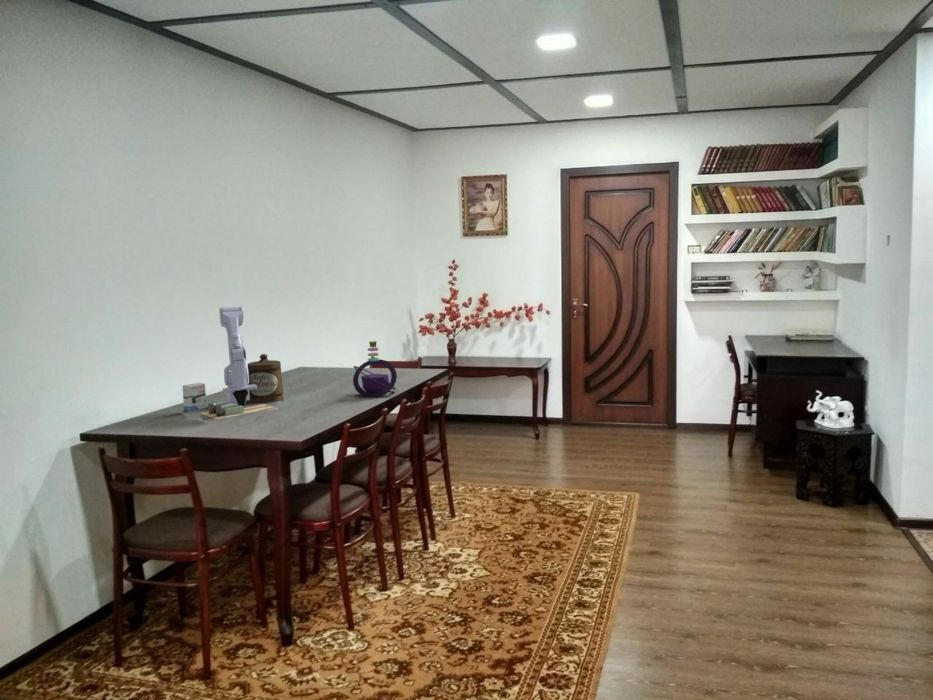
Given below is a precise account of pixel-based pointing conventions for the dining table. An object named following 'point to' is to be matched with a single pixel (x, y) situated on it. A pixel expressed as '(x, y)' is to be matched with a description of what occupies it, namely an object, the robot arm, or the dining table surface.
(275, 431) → the dining table surface
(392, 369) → the decorative bottle
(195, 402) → the ink box
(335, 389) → the dining table surface
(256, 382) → the wooden container
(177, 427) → the dining table surface
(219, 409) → the cylinder
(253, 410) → the bench board
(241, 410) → the mint green book-shaped slab
